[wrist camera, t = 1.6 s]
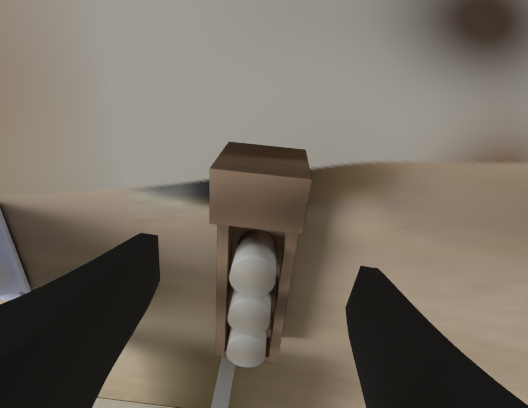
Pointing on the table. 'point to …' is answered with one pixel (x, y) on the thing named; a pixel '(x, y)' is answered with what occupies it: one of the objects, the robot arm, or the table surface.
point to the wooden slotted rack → (255, 245)
